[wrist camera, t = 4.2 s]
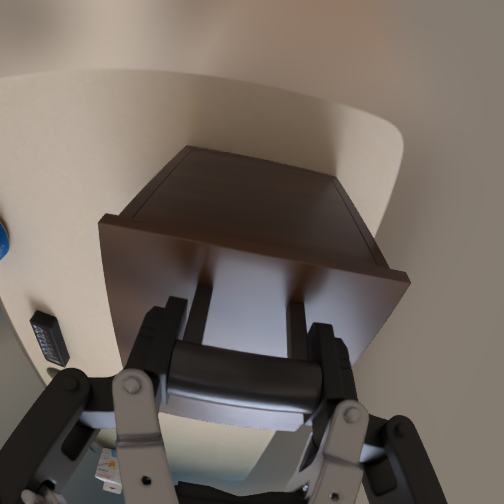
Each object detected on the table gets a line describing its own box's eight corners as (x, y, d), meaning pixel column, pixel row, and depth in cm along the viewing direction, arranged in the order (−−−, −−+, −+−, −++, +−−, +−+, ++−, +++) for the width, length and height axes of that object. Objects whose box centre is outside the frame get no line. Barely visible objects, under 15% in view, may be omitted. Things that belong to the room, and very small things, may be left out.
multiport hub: (56, 317, 39) (50, 328, 37) (70, 358, 44) (65, 368, 43) (35, 309, 38) (28, 319, 36) (50, 351, 44) (45, 360, 42)
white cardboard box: (120, 449, 72) (110, 489, 59) (130, 455, 74) (121, 494, 62) (102, 447, 73) (92, 484, 61) (112, 453, 76) (102, 489, 63)
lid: (105, 212, 12) (31, 310, 7) (406, 271, 13) (450, 376, 8) (135, 397, 22) (119, 458, 17) (295, 423, 23) (295, 484, 18)
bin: (185, 145, 25) (115, 218, 13) (336, 177, 26) (392, 272, 14) (172, 290, 34) (136, 397, 22) (288, 311, 35) (295, 423, 23)
